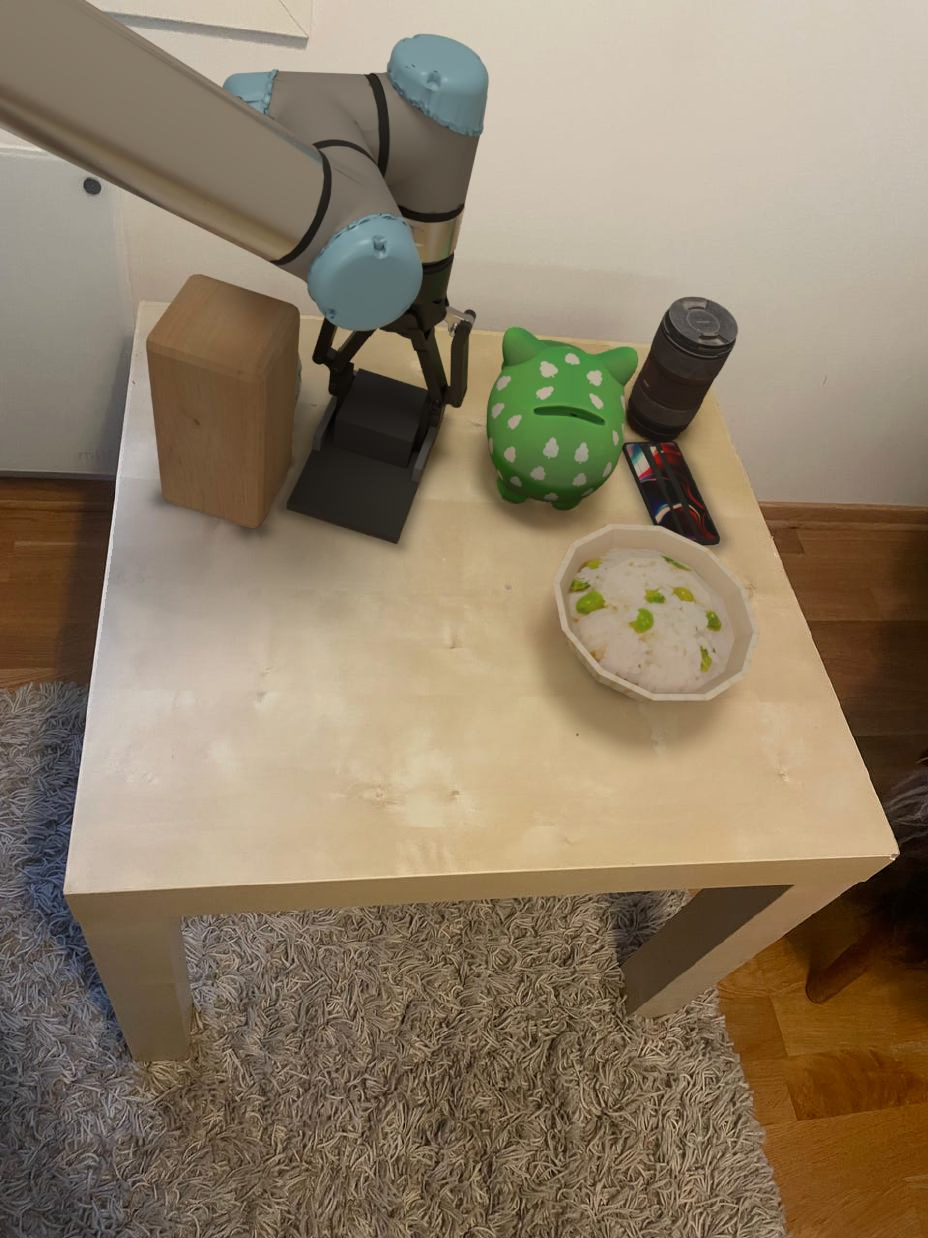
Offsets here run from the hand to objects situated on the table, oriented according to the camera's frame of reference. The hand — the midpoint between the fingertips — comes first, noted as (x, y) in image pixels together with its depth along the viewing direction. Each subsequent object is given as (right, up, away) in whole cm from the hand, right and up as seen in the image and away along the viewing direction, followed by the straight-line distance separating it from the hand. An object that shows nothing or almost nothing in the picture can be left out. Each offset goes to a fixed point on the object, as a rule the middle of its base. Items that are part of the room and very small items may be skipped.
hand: (380, 429), depth 98 cm
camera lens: (+31, +3, +11) cm, 33 cm away
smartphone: (+32, -6, +6) cm, 33 cm away
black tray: (-1, -4, -1) cm, 4 cm away
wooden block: (-14, -7, -6) cm, 17 cm away
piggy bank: (+17, -4, +3) cm, 17 cm away
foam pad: (0, 0, 0) cm, 0 cm away
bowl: (+24, -24, -8) cm, 35 cm away
